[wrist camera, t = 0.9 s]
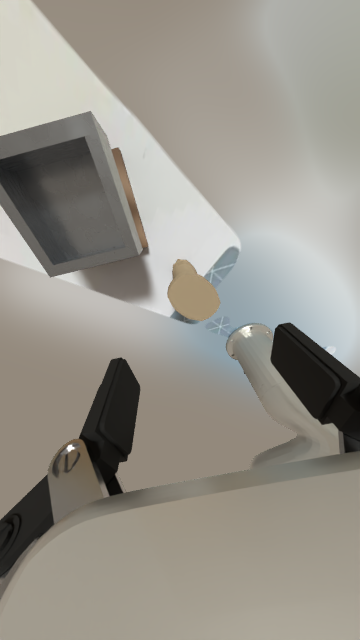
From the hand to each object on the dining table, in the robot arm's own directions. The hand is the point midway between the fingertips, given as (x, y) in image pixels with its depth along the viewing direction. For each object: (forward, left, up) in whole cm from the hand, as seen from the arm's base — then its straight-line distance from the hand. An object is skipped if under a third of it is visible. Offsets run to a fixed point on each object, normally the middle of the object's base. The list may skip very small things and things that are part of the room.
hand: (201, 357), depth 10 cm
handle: (-1, -1, -25) cm, 25 cm away
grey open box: (+10, +10, -18) cm, 23 cm away
